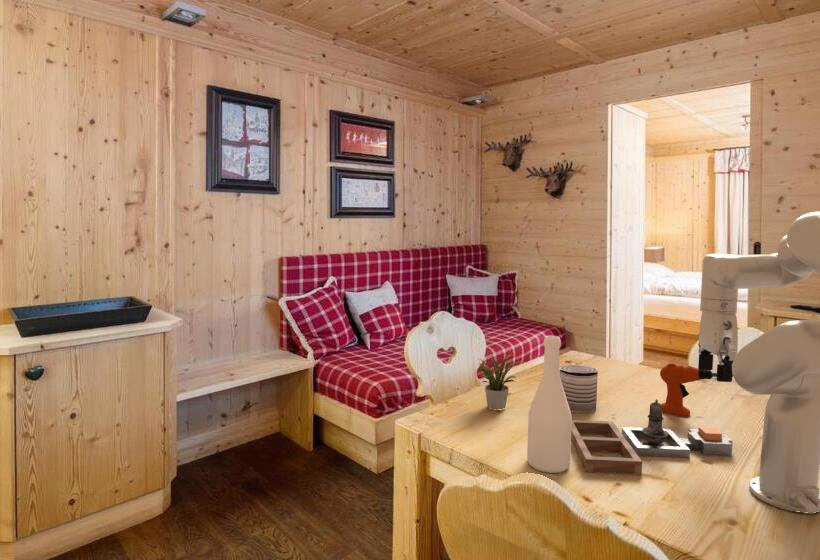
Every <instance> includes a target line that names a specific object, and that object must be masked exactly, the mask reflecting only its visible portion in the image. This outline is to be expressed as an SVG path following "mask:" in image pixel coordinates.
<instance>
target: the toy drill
mask: <svg viewBox="0 0 820 560" xmlns="http://www.w3.org/2000/svg"><path fill="white" fill-rule="evenodd" d="M659 376H660V378H661V379H662V381H663V382H664V383H665V384H666V390H667V391H666V399H665V401H664V402H662V403H660V404H661V405H662V406H663V412H662V414H667V415H671V416H676V417H683V418H688V417H690V415H691V410H690V409H689V408H687V407H686V406H684V399H683V398H685V397H687V396H689V395H690V392H689V391H687V389H686V386H685V385H684V384H687V383H692V382H697V381H700V380H711V379H713V378H717V372H713V371H712V370H699V369H698V368H697V367H693V366H691V365H688V366H684V365H682V364H681V365H678V364H676V363H673V362H672V363H668V364H667V365H665V366H664V367H662V368H661V369H660V373H659ZM732 378H734V377H733V374H732Z"/></svg>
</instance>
